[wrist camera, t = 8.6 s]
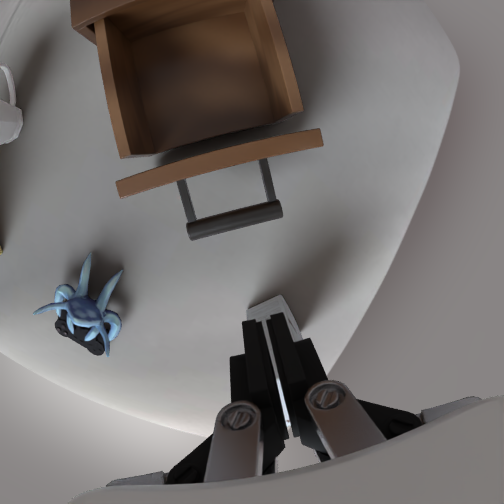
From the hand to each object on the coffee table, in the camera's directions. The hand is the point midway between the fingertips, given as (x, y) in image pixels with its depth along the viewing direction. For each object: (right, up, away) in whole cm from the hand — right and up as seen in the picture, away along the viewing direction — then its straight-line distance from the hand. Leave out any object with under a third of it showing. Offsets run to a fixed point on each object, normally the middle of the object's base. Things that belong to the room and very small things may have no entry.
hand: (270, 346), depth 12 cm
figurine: (-19, -2, +18) cm, 26 cm away
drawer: (-5, +16, +12) cm, 21 cm away
